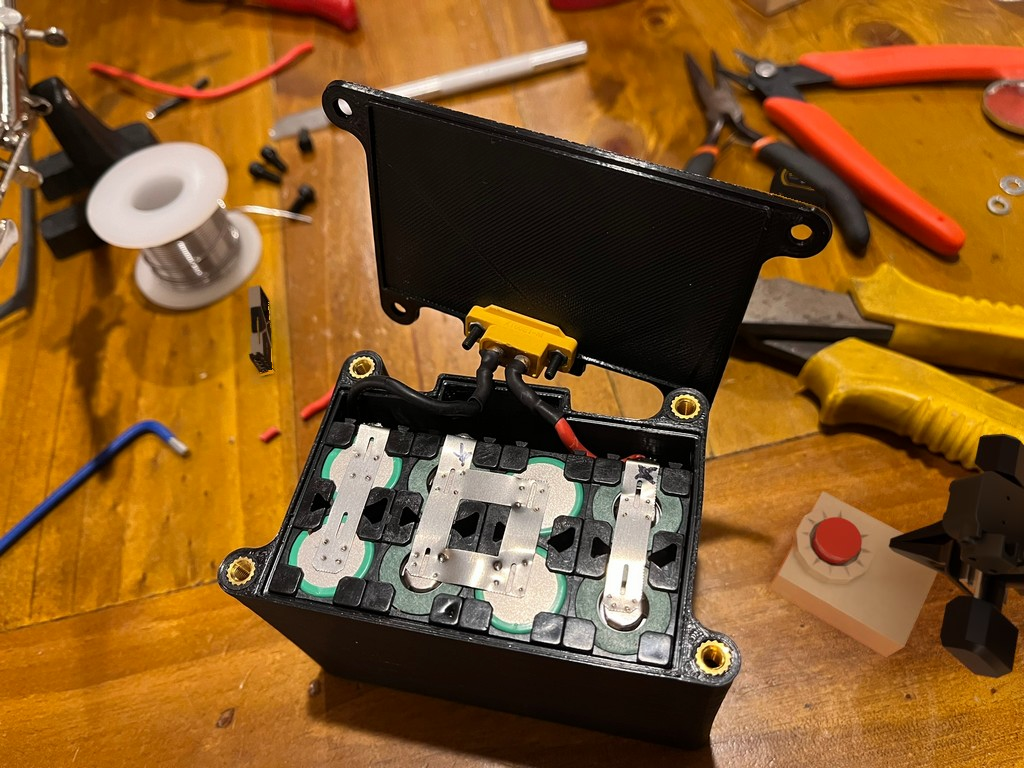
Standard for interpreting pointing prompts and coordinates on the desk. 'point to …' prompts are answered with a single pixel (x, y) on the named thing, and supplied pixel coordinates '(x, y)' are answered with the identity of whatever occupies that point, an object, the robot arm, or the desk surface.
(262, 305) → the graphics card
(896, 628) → the switch block
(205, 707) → the desk surface
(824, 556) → the red button
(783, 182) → the tape measure
